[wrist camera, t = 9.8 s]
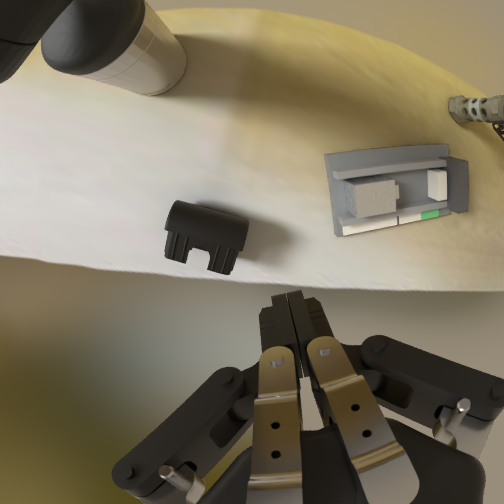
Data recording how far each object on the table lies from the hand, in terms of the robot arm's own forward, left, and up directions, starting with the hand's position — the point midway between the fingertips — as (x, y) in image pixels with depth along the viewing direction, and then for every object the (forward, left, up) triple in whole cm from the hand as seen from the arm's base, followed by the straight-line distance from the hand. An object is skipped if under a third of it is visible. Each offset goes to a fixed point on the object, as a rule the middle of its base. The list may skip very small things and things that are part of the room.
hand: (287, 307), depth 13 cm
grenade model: (-9, +37, -27) cm, 46 cm away
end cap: (+3, -8, -27) cm, 28 cm away
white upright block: (+2, +27, -25) cm, 37 cm away
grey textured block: (+2, +15, -25) cm, 30 cm away
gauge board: (+2, +21, -27) cm, 34 cm away
